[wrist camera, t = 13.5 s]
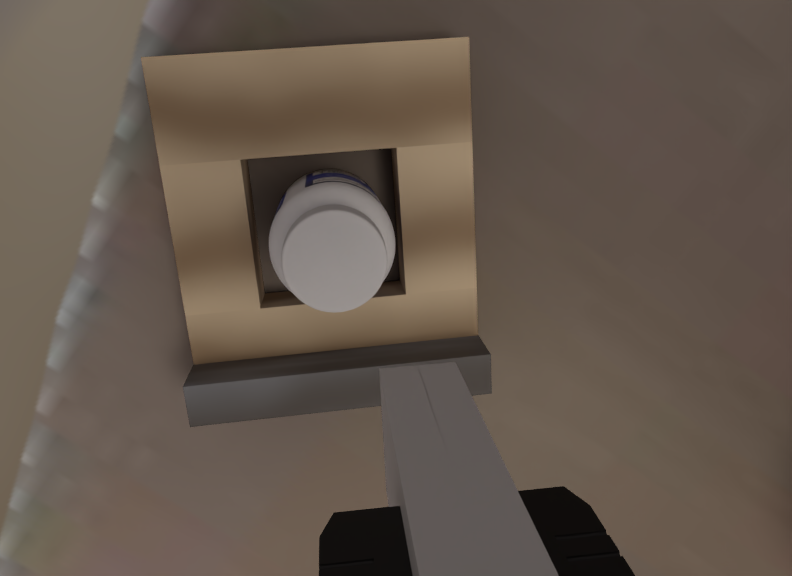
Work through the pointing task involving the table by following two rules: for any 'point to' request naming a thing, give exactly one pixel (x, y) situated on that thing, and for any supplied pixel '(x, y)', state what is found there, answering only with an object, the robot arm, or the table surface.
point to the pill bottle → (331, 241)
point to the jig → (237, 236)
